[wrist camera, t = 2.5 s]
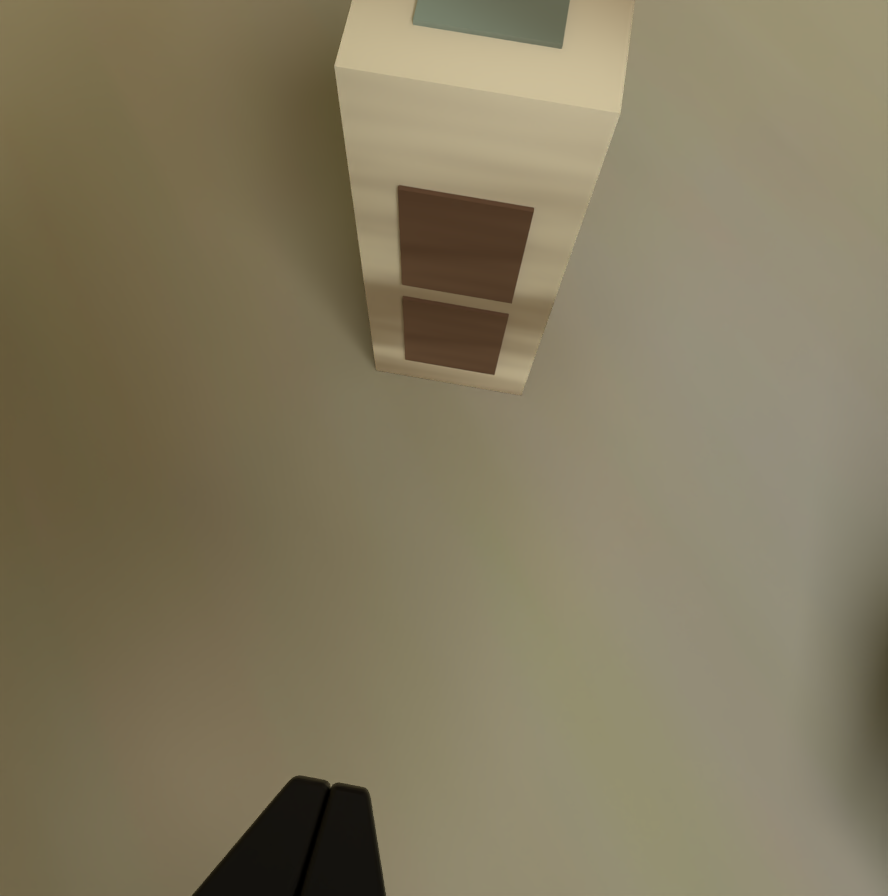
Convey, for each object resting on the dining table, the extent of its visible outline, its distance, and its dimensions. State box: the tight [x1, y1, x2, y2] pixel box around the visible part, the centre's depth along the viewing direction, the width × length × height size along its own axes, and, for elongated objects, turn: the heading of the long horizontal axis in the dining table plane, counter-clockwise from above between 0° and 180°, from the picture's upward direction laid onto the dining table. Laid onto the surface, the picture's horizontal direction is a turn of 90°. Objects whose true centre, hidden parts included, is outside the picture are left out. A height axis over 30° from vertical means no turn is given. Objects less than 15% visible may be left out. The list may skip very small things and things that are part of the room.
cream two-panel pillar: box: [334, 0, 635, 395], centre depth 18 cm, size 5×4×12 cm
